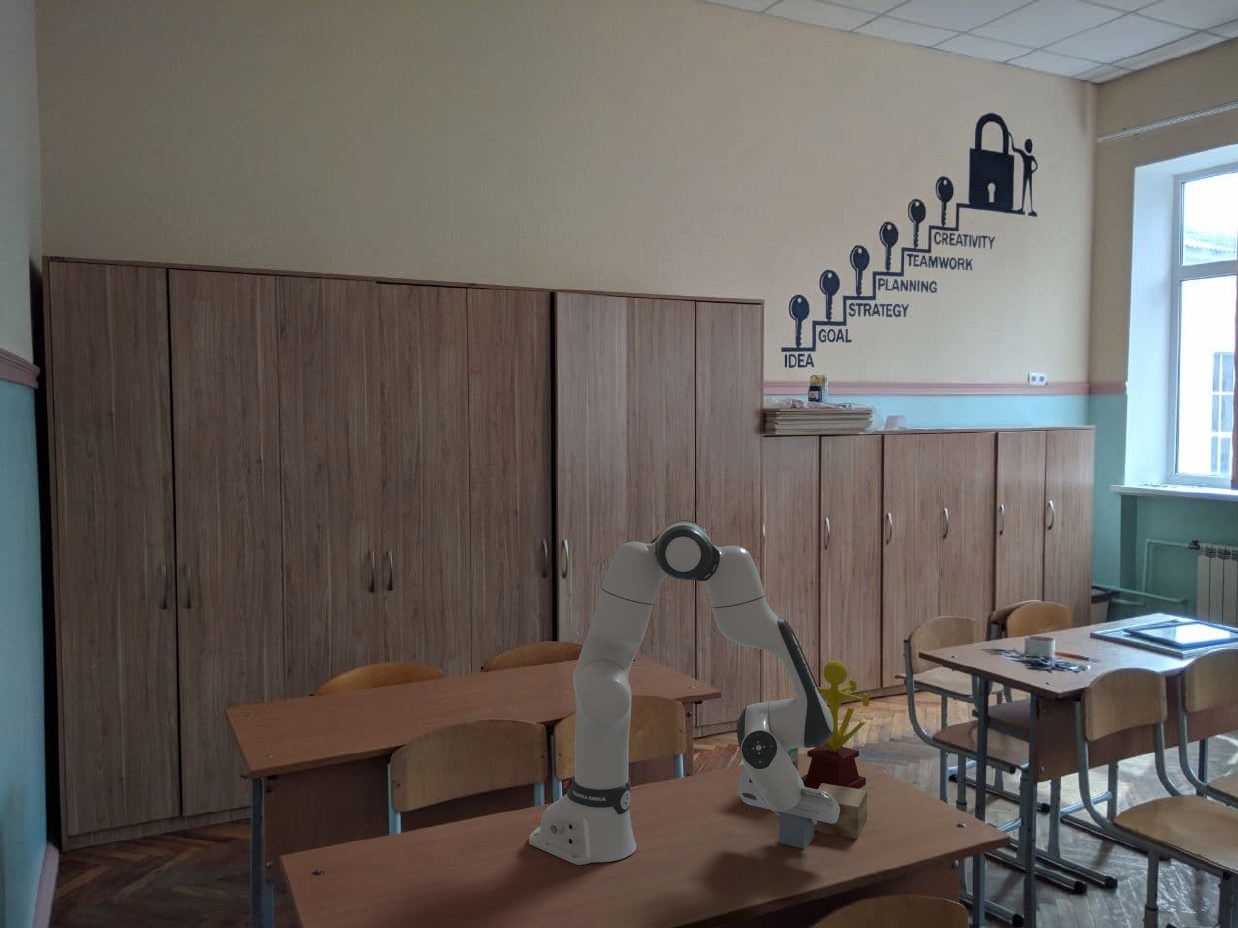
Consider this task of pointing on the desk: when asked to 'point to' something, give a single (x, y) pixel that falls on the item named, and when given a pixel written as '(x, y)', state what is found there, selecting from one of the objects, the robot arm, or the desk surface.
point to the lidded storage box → (795, 830)
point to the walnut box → (845, 811)
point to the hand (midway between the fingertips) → (798, 816)
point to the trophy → (836, 737)
